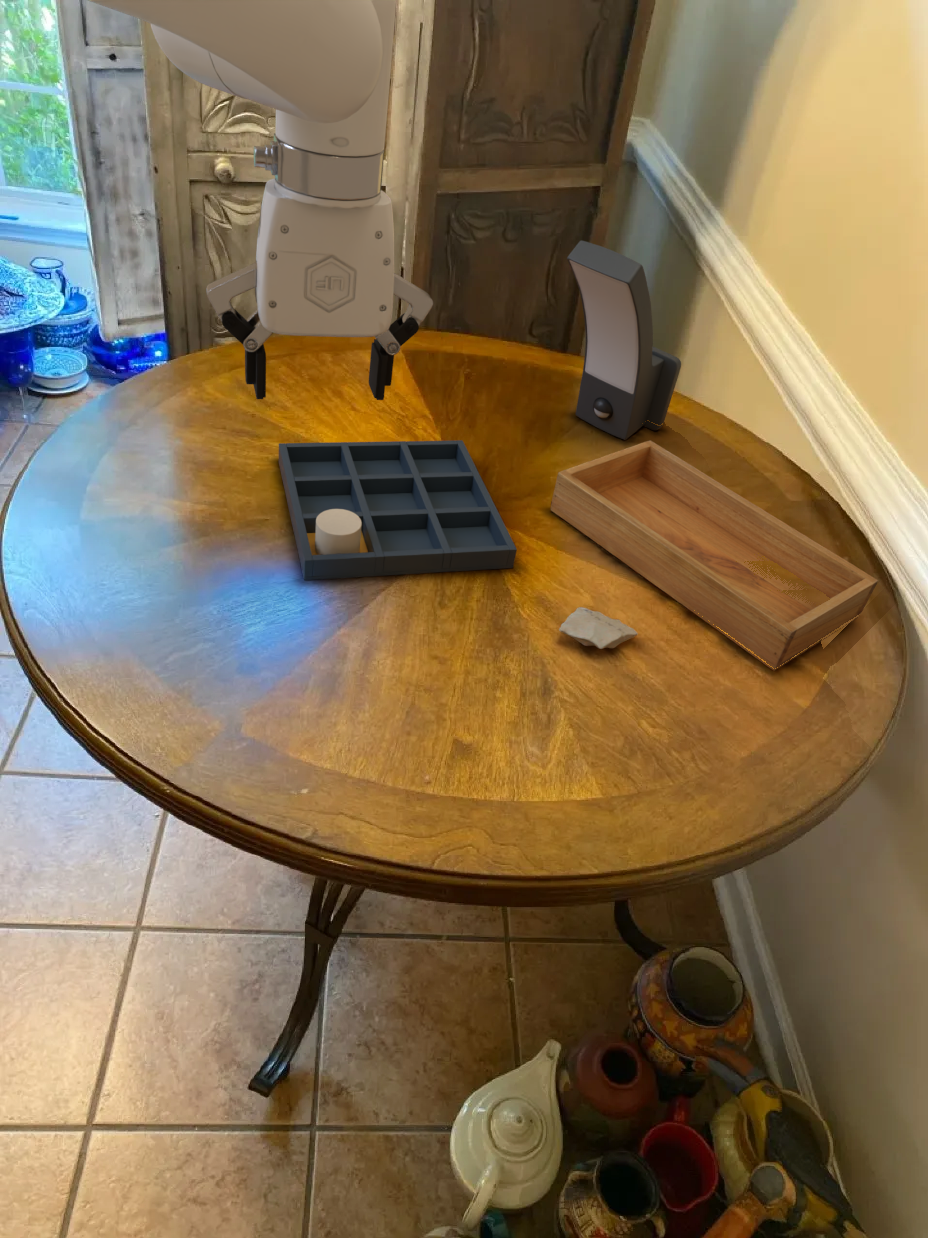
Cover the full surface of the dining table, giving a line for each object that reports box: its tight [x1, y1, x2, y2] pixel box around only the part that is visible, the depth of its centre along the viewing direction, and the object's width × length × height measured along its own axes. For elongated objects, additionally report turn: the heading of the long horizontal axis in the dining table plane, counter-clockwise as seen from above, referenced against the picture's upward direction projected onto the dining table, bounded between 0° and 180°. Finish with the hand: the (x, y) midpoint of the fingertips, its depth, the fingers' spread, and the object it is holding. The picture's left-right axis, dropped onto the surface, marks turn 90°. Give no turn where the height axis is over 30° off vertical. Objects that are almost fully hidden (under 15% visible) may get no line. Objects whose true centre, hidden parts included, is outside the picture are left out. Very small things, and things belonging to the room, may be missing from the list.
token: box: [315, 509, 362, 555], centre depth 90 cm, size 4×4×3 cm
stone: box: [558, 606, 639, 650], centre depth 86 cm, size 6×2×6 cm
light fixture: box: [566, 240, 682, 441], centre depth 110 cm, size 11×17×24 cm, turn 139°
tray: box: [550, 440, 879, 671], centre depth 96 cm, size 31×15×6 cm, turn 39°
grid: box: [278, 439, 518, 581], centre depth 97 cm, size 21×21×2 cm
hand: (318, 391), depth 75 cm, fingers open, 9 cm apart
